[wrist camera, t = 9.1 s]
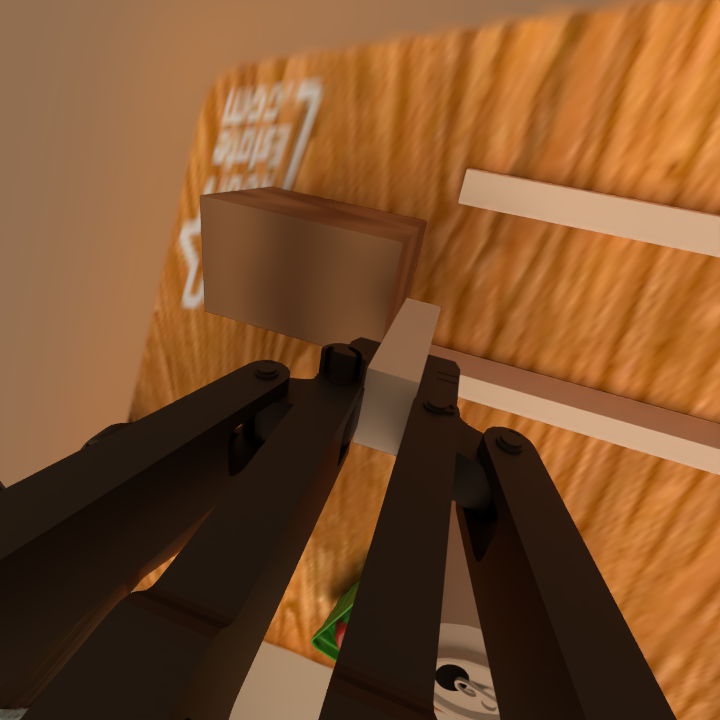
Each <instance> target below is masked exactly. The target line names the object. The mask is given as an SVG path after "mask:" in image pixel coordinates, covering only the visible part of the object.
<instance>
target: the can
mask: <svg viewBox="0 0 720 720" xmlns="http://www.w3.org/2000/svg"><path fill="white" fill-rule="evenodd" d="M455 508H456V502H455V501H454V500H452V504H451V515H450V526H449V537H448V548H447V558H446V569H445V580H444V591H443V602H442V613H441V624H440V634H439V645H438V656H437V667H436V678H435V689H434V706H436V707H437V708H438V709H440V710H442V711H443V712H445V713H447V714H449V715H451V716H453V717H455V718H458V719H460V720H500V715H499V710H498V706H497V701H496V696H495V692H494V687H493V682H492V678H491V673H490V668H489V664H488V659H487V654H486V650H485V645H484V640H483V636H482V631H481V626H480V622H479V617H478V612H477V608H476V603H475V598H474V594H473V589H472V584H471V580H470V575H469V570H468V566H467V561H466V556H465V552H464V547H463V542H462V538H461V533H460V528H459V524H458V519H457V514H456V510H455Z"/></svg>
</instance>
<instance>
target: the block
mask: <svg viewBox="0 0 720 720" xmlns="http://www.w3.org/2000/svg"><path fill="white" fill-rule="evenodd" d="M200 212H201V235H202V257H203V280H204V302H205V311H206V312H209V313H212V314H216V315H219V316H223V317H226V318H229V319H233V320H236V321H239V322H243V323H246V324H250V325H253V326H256V327H260V328H263V329H267V330H270V331H273V332H277V333H280V334H283V335H287V336H290V337H294V338H297V339H300V340H304V341H307V342H310V343H314V344H317V345H321V346H326V345H328V344H332V343H344V344H350V343H351V341H353V340H355V339H358V338H360V337H363V338H366V339H370V340H374V341H377V342H381V343H382V341H383V339H384V338H385V336H386V334H387V332H388V330H389V329H390V327H391V325H392V323H393V321H394V320H395V318H396V316H397V314H398V313H399V311H400V309H401V307H402V305H403V304H404V302H405V300H406V298H409V294H410V290H411V286H412V282H413V277H414V273H415V269H416V265H417V260H418V256H419V252H420V248H421V243H422V239H423V235H424V231H425V227H426V222H427V221H424V220H420V219H415V218H411V217H406V216H402V215H397V214H392V213H388V212H383V211H379V210H374V209H370V208H365V207H361V206H356V205H352V204H347V203H343V202H338V201H334V200H329V199H324V198H320V197H315V196H311V195H306V194H302V193H297V192H293V191H288V190H284V189H279V188H275V187H264V188H256V189H248V190H239V191H231V192H223V193H214V194H206V195H200Z"/></svg>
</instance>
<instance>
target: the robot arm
mask: <svg viewBox="0 0 720 720" xmlns="http://www.w3.org/2000/svg"><path fill="white" fill-rule="evenodd" d="M440 310H441V306H437V305H433V304H429V303H425V302H421V301H417V300H413V299H409V298H406V300H405V302H404V304H403V305H402V307H401V309H400V311H399V313H398V314H397V316H396V318H395V320H394V321H393V323H392V325H391V327H390V329H389V330H388V332H387V334H386V336H385V338H384V339H383V341H382V343H381V342H377V341H374V340H370V339H366V338H363V337H360V338H358V339H355V340H353V341H351V343H350V344H344V343H332V344H328V345H326V346H324V347H323V348H322V352H321V360H320V367H319V373H318V374H317V376H316V377H315V378H314V379H297V378H290V371H289V369H288V367H286V366H285V365H283V364H282V363H279V362H276V361H272V360H270V361H269V360H261V361H255V362H252V363H249V364H247V365H245V366H243V367H241V368H239V369H237V370H235V371H233V372H232V373H230V374H228V375H226V376H224V377H222V378H220V379H218V380H216V381H214V382H212V383H210V384H208V385H206V386H204V387H202V388H200V389H198V390H196V391H194V392H193V393H191V394H189V395H187V396H185V397H183V398H181V399H179V400H177V401H175V402H173V403H171V404H169V405H167V406H165V407H163V408H161V409H159V410H157V411H156V412H154V413H152V414H150V415H148V416H146V417H144V418H142V419H140V420H138V421H136V422H134V423H132V424H131V423H118V424H114V425H111V426H109V427H107V428H105V429H104V430H103V431H101V432H100V433H98V434H97V435H95V436H94V437H92V438H91V439H90V440H89V441H88V442H86V443H85V445H84V446H83V447H82V448H81V450H80V451H78V452H76V453H74V454H72V455H70V456H68V457H66V458H64V459H62V460H60V461H58V462H56V463H55V464H52V465H51V466H48V467H46V468H44V469H43V470H41V471H39V472H37V473H35V474H33V475H31V476H29V477H27V478H25V479H23V480H22V481H19V482H17V483H15V484H13V485H11V486H9V487H8V488H5V486H4V485H3V484H2V483H1V481H0V720H229V717H230V713H231V711H232V708H233V705H234V703H235V700H236V698H237V695H238V693H239V691H240V689H241V687H242V684H243V682H244V680H245V678H246V676H247V674H248V671H249V669H250V667H251V665H252V663H253V661H254V658H255V656H256V654H257V652H258V650H259V647H260V645H261V643H262V641H263V639H264V636H265V634H266V632H267V630H268V628H269V625H270V623H271V621H272V619H273V617H274V615H275V612H276V610H277V608H278V606H279V604H280V601H281V599H282V597H283V595H284V593H285V590H286V588H287V586H288V584H289V582H290V580H291V577H292V575H293V573H294V571H295V569H296V566H297V564H298V562H299V560H300V558H301V555H302V553H303V551H304V549H305V547H306V544H307V542H308V540H309V538H310V536H311V534H312V531H313V529H314V527H315V525H316V523H317V520H318V518H319V516H320V514H321V512H322V509H323V507H324V505H325V503H326V501H327V499H328V496H329V494H330V492H331V490H332V488H333V485H334V483H335V481H336V479H337V477H338V474H339V472H340V470H341V468H342V466H343V464H344V461H345V459H346V457H347V455H348V452H349V447H350V442H351V439H352V437H353V435H354V438H353V442H354V443H357V444H360V445H363V446H366V447H370V448H373V449H376V450H379V451H382V452H385V453H388V454H391V455H395V456H397V457H396V461H395V464H394V467H393V471H392V474H391V477H390V481H389V484H388V488H387V491H386V494H385V498H384V501H383V505H382V508H381V511H380V515H379V518H378V522H377V525H376V528H375V532H374V535H373V538H372V542H371V545H370V549H369V552H368V555H367V559H366V562H365V566H364V569H363V572H362V576H361V579H360V583H359V586H358V589H357V593H356V596H355V599H354V603H353V606H352V610H351V613H350V616H349V620H348V623H347V627H346V630H345V633H344V637H343V640H342V644H341V647H340V650H339V654H338V657H337V660H336V664H335V667H334V670H333V673H332V676H331V679H330V683H329V686H328V689H327V692H326V696H325V699H324V702H323V706H322V709H321V713H320V716H319V719H318V720H437V718H436V716H435V713H434V689H435V678H436V667H437V656H438V645H439V634H440V624H441V613H442V602H443V591H444V580H445V569H446V558H447V548H448V537H449V526H450V515H451V504H452V500H454V501H455V502H456V508H455V510H456V514H457V519H458V524H459V528H460V533H461V538H462V542H463V547H464V552H465V556H466V561H467V566H468V570H469V575H470V580H471V584H472V589H473V594H474V598H475V603H476V608H477V612H478V617H479V622H480V626H481V631H482V636H483V640H484V645H485V650H486V654H487V659H488V664H489V668H490V673H491V678H492V682H493V687H494V692H495V696H496V701H497V706H498V710H499V715H500V720H677V719H676V717H675V715H674V714H673V712H672V710H671V708H670V706H669V704H668V702H667V700H666V698H665V696H664V694H663V692H662V691H661V689H660V687H659V685H658V683H657V681H656V679H655V677H654V675H653V673H652V671H651V669H650V667H649V666H648V664H647V662H646V660H645V658H644V656H643V654H642V652H641V650H640V648H639V646H638V644H637V643H636V641H635V639H634V637H633V635H632V633H631V631H630V629H629V627H628V625H627V623H626V621H625V620H624V618H623V616H622V614H621V612H620V610H619V608H618V606H617V604H616V602H615V600H614V598H613V596H612V595H611V593H610V591H609V589H608V587H607V585H606V583H605V581H604V579H603V577H602V575H601V573H600V572H599V570H598V568H597V566H596V564H595V562H594V560H593V558H592V556H591V554H590V552H589V550H588V548H587V547H586V545H585V543H584V541H583V539H582V537H581V535H580V533H579V531H578V529H577V527H576V525H575V524H574V522H573V520H572V518H571V516H570V514H569V512H568V510H567V508H566V506H565V504H564V502H563V500H562V499H561V497H560V495H559V493H558V491H557V489H556V487H555V485H554V483H553V481H552V479H551V477H550V476H549V474H548V472H547V470H546V468H545V466H544V464H543V462H542V460H541V458H540V456H539V454H538V452H537V451H536V449H535V447H534V446H533V444H532V443H531V442H530V440H528V439H527V438H526V437H525V436H523V435H522V434H520V433H519V432H516V431H515V430H512V429H508V428H505V427H491V428H488V429H487V430H486V431H485V433H484V434H483V433H481V432H480V431H478V430H476V429H474V428H472V427H471V426H469V425H468V424H466V423H465V422H464V421H463V420H462V419H461V418H460V412H459V408H458V407H457V399H458V389H459V380H460V379H459V378H460V368H459V367H458V365H457V363H456V362H455V361H451V360H448V359H444V358H440V357H437V356H433V355H429V354H428V353H429V349H430V345H431V342H432V338H433V335H434V331H435V328H436V324H437V321H438V317H439V314H440ZM241 424H242V426H240V427H239V428H237V427H238V426H239V425H241ZM236 428H237V429H236ZM177 553H179V554H178V555H177V556H176V557H175V559H174V560H173V561H172V563H171V564H170V565H169V567H168V568H167V569H166V570H165V572H164V573H163V574H162V576H161V577H160V578H159V579H158V580H157V581H156V583H155V584H154V585H153V586H152V587H150V588H149V589H147V590H144V591H136V592H132V591H133V589H134V588H135V587H136V586H137V585H138V583H139V582H140V581H141V580H142V579H143V578H144V577H145V576H146V575H148V574H149V573H151V572H152V571H153V570H155V569H156V568H158V567H159V566H160V565H162V564H163V563H165V562H166V561H168V560H169V559H170V558H172V557H173V556H175V555H176V554H177ZM131 592H132V593H131Z"/></svg>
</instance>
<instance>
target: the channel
mask: <svg viewBox="0 0 720 720" xmlns="http://www.w3.org/2000/svg"><path fill="white" fill-rule="evenodd" d="M458 203H459V204H464V205H469V206H473V207H478V208H483V209H488V210H493V211H498V212H503V213H507V214H512V215H517V216H522V217H527V218H532V219H536V220H541V221H546V222H551V223H556V224H561V225H566V226H570V227H575V228H580V229H585V230H590V231H595V232H599V233H604V234H609V235H614V236H619V237H624V238H629V239H633V240H638V241H643V242H648V243H653V244H658V245H662V246H667V247H672V248H677V249H682V250H687V251H692V252H696V253H701V254H706V255H711V256H716V257H720V215H717V214H712V213H707V212H701V211H696V210H691V209H685V208H680V207H675V206H669V205H664V204H659V203H653V202H648V201H643V200H638V199H632V198H627V197H622V196H616V195H611V194H606V193H600V192H595V191H590V190H584V189H579V188H574V187H569V186H563V185H558V184H553V183H547V182H542V181H537V180H531V179H526V178H521V177H515V176H510V175H505V174H500V173H494V172H489V171H484V170H478V169H473V168H469V169H467V171H466V175H465V178H464V182H463V186H462V190H461V193H460V197H459V201H458ZM428 354H429V355H433V356H437V357H440V358H444V359H448V360H451V361H455V362H456V363H457V365H458V367H459V368H460V378H459V379H460V380H459V389H458V397H460V398H463V399H467V400H470V401H473V402H477V403H480V404H483V405H487V406H490V407H494V408H497V409H500V410H504V411H507V412H510V413H514V414H517V415H520V416H524V417H527V418H530V419H534V420H537V421H540V422H544V423H547V424H550V425H554V426H557V427H560V428H564V429H567V430H570V431H574V432H577V433H581V434H584V435H587V436H591V437H594V438H597V439H601V440H604V441H607V442H611V443H614V444H617V445H621V446H624V447H627V448H631V449H634V450H637V451H641V452H644V453H647V454H651V455H654V456H657V457H661V458H664V459H668V460H671V461H674V462H678V463H681V464H684V465H688V466H691V467H694V468H698V469H701V470H704V471H708V472H711V473H714V474H718V475H720V424H718V423H714V422H711V421H707V420H703V419H700V418H696V417H693V416H689V415H685V414H682V413H678V412H675V411H671V410H667V409H664V408H660V407H657V406H653V405H649V404H646V403H642V402H639V401H635V400H631V399H628V398H624V397H620V396H617V395H613V394H610V393H606V392H602V391H599V390H595V389H592V388H588V387H584V386H581V385H577V384H574V383H570V382H566V381H563V380H559V379H556V378H552V377H548V376H545V375H541V374H538V373H534V372H530V371H527V370H523V369H519V368H516V367H512V366H509V365H505V364H501V363H498V362H494V361H491V360H487V359H483V358H480V357H476V356H473V355H469V354H465V353H462V352H458V351H455V350H451V349H447V348H444V347H440V346H436V345H433V344H431V345H430V349H429V353H428Z"/></svg>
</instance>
